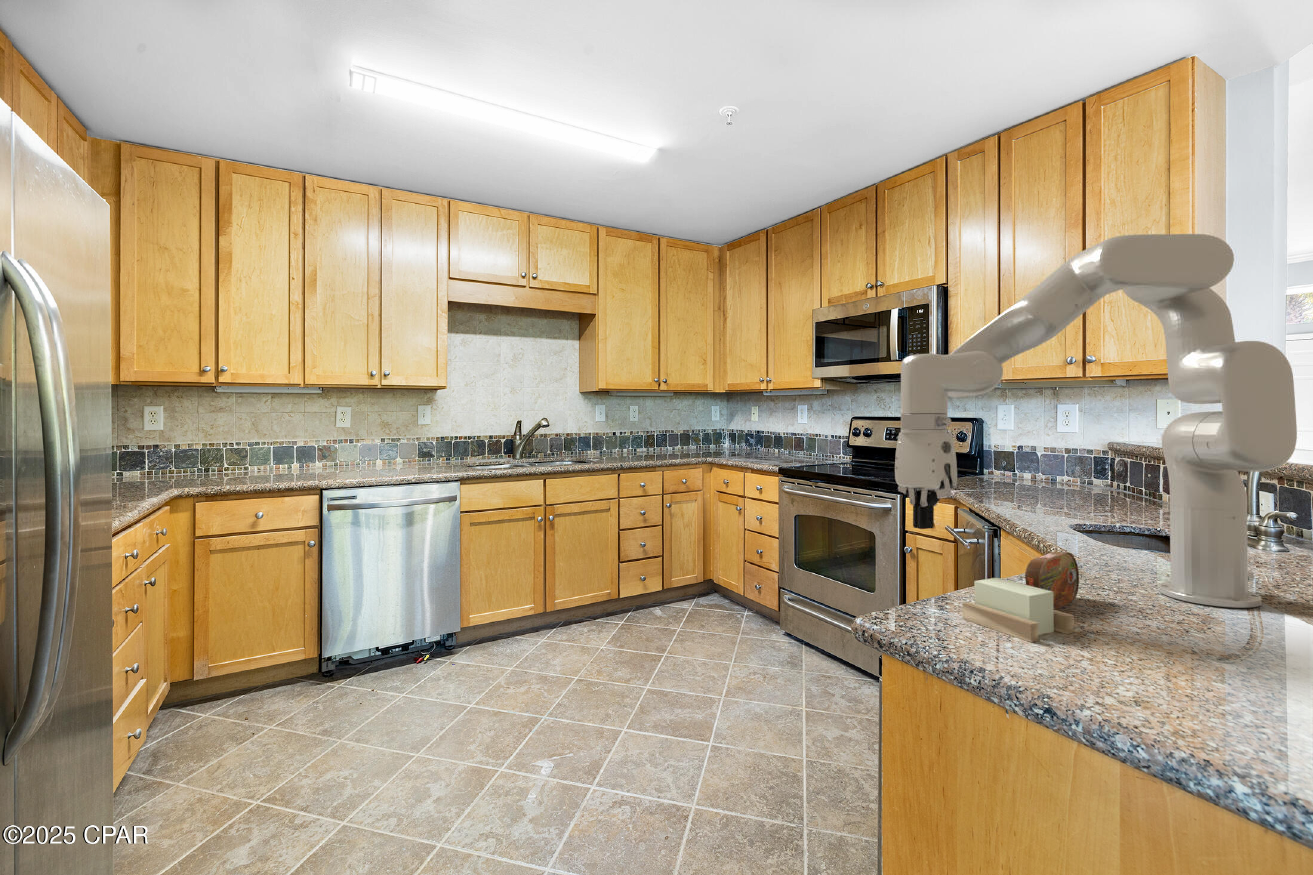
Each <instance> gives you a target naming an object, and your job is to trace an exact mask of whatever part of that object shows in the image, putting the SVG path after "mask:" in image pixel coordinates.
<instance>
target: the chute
mask: <svg viewBox="0 0 1313 875" xmlns="http://www.w3.org/2000/svg"><path fill="white" fill-rule="evenodd" d="M1053 612H1054V632H1055V631H1056V632H1059V633H1063V634H1066V635H1068V634H1072V633H1073V634H1074V633H1075V632H1074V631H1075V630H1074V615H1073V614H1070V613H1066V612H1062V611H1059V610H1057V609H1056V610H1053ZM962 620H964V621H968V622H971V623H973V624H977V625H978V626H983V627H985V628H989V629H991V630H994V631H996V632H999V633H1003V634H1006V635H1008V636H1012V637H1014V638H1017V639H1020V640H1023V641H1026V642H1030V643H1034V642H1038V641H1039V635H1038V623H1037V622H1034V621H1030V620H1027V619H1024V618H1020V617H1017V616H1014V615H1011V614H1007V613H1004V612H1001V611H998V610H994V609H991V608H988V607H985V606H981V605H978V604H975V602H972V601H967V602H962Z"/></svg>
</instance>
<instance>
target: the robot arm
mask: <svg viewBox="0 0 1313 875" xmlns="http://www.w3.org/2000/svg"><path fill="white" fill-rule="evenodd" d="M1234 263H1235V255H1234V252H1233V249H1232V247H1231V246H1230V245H1229V244H1228V243H1227V242H1226V241H1224V240H1223V239H1222V238H1220V237H1217V236H1215V235H1210V234H1204V233H1175V234H1173V233H1172V234H1171V233H1167V234H1165V233H1155V234H1154V233H1153V234H1152V233H1149V234H1147V233H1146V234H1144V233H1143V234H1123V235H1117V236H1114V237H1110V238H1107V239H1105V240H1103V241H1101V242H1099V243H1097V244H1095V245H1092V246H1090V247H1088V248H1086V249H1084V250H1082V251H1079V252H1078V253H1076V254H1074V255H1073V256H1072V257H1070V258H1068V260H1067V261H1065V262H1063V264H1061V265H1060V266H1059V267H1058V268H1056V269H1055V270H1054V271H1053V272H1051V274H1049V275H1048V276H1047V277H1046V278H1045V279H1044V280H1043V281H1041V282H1040V283H1039V284H1037V285H1036V286H1035V287H1034V288H1033V289H1032V290H1030V291H1029V292H1028V293H1026V294H1025V295H1024V296H1023V297H1022V298H1021V299H1019V300H1018V301H1016V302H1015V303H1014V304H1013V305H1012V306H1010V307H1008V308H1007V309H1005V311H1003V312H1002V313H1001V314H999V315H998V316H997V317H995V318H993V320H991V321H990V322H989V323H988V324H986V325H985V326H984V327H982V328H981V329H980V330H978V331H977V332H976V333H974V334H973V335H971V336H970V337H969V338H968V339H966V340H965V341H964V342H962V343H961V344H960V345H959V346H958V347H956V348H955V349H954V350H953V351H952V352H951V353H950V354H940V353H919V354H912V355H908V356H905V358H903V359H902V361H901V365H900V432H899V433H898V436H897V441H896V442H897V443H896V450H895V456H894V457H895V459H894V460H895V461H894V479H895V483H896V484H897V485H898V487H897V491H898V492H900V493H903V494H904V495H906V496H907V497H908V499H909V504H910V505H911V506H912V528H913V529H920V530H926V529H927V530H929V529H933V528H934V526H935V524H934V522H935V521H934V520H935V519H934V518H935V514H934V513H935V512H934V511H935V508H934V507H936V506H938V502H940V500H941V499H943V498H950V497H951V496H952V490H951V489H955V488H956V487H957V484H958V467H957V454H956V453H957V452H956V447H955V442H954V436H953V434H952V432H948V426H950V425H951V423H952V419H951V418H950V417H949V416H948V413H949V411H948V407H949V405H948V402H949V401H948V399H949V397H950V398H962V397H972V396H978V395H983V394H986V393H988V392H991V391H992V390H994V389H995V388H996V387H997V386H998V385H999V384H1000V383H1001V381H1002V378H1003V375H1004V367H1003V364H1004V363H1006V362H1008V361H1009V360H1011V359H1013V358H1015V357H1016V356H1018V355H1021V354H1022V353H1025V352H1027V351H1030V350H1032V349H1036V348H1037V347H1039V346H1041V345H1042V344H1044V343H1047V342H1048V341H1050V340H1052V339H1053V338H1055V337H1056V336H1058V335H1059V334H1060V333H1061V332H1062V331H1063V330H1065V329H1066V328H1067V327H1068V326H1069V325H1071V323H1073V322H1074V321H1076V319H1078V318H1079V317H1080V316H1081V315H1083V314H1085V312H1086V311H1088V310H1089V309H1090V308H1091V307H1093V306H1094V305H1095V304H1097V303H1098V302H1099V301H1100V300H1101V299H1103V298H1104V297H1106V296H1107V295H1110V294H1112V293H1116V292H1119V291H1122V292H1123V293H1124V294H1125V296H1126V297H1128V298H1129V299H1130V300H1132V301H1134V302H1135V303H1138V304H1140V305H1141V306H1143V307H1144V308H1147V309H1148V310H1149V311H1151V313H1153V314H1154V315H1155V316H1156V317H1157V319H1158V320H1159V322H1160V323H1161V325H1162V328H1163V329H1162V330H1163V334H1164V335H1163V336H1164V340H1165V355H1166V365H1167V378H1168V379H1167V380H1168V385H1169V386H1168V387H1169V391H1170V392H1171V394H1172V395H1173V397H1174V398H1176V399H1177V400H1179V401H1180V402H1183V403H1186V404H1193V405H1195V404H1199V405H1201V404H1202V405H1204V404H1205V405H1207V404H1208V405H1209V404H1221V409H1222V410H1221V411H1218V410H1217V411H1200V412H1199V411H1198V412H1191V413H1188V414H1185V415H1181V416H1179V417H1177V418H1175V419H1174V420H1172V421H1171V422H1169V424H1168V425H1167V426H1166V427H1165V429H1164V431H1163V433H1162V437H1161V448H1162V449H1161V450H1162V452H1163V457H1164V461H1165V464H1166V469H1167V474H1168V484H1169V539H1170V540H1169V542H1170V543H1169V546H1170V549H1169V550H1170V552H1169V553H1170V581H1164V582H1161V583H1159V588H1158V590H1159V592H1160V593H1162V594H1163V595H1165V596H1168V597H1169V598H1173V599H1176V600H1179V601H1183V602H1189V603H1192V604H1193V603H1194V604H1197V605H1198V604H1199V605H1204V606H1213V607H1220V608H1221V607H1222V608H1234V609H1235V608H1236V609H1239V608H1243V609H1246V608H1248V609H1249V608H1257V607H1259V606H1261V605H1262V604H1263V603H1262V600H1263V599H1262V596H1261V595H1259V594H1257V593H1255V592H1252V591H1249V582H1253V581H1254V580H1255V574H1254V573H1253V572H1251V571H1250V570H1248V568H1249V567H1248V566H1249V565H1248V564H1249V563H1248V562H1249V561H1248V557H1249V556H1248V554H1249V552H1248V495H1247V490H1246V486H1245V484H1244V481H1243V479H1242V477H1241V475H1240V474H1239V472H1250V473H1251V472H1257V473H1258V472H1267V471H1268V472H1269V471H1272V470H1273V471H1274V470H1275V469H1278V468H1280V467H1282V466H1283V465H1284V464H1286V463H1287V462H1289V460H1290V459H1291V458H1292V456H1293V454H1294V451H1295V449H1296V445H1297V438H1298V437H1297V436H1298V429H1297V428H1298V427H1297V426H1298V425H1297V413H1296V412H1297V409H1296V398H1295V383H1294V373H1293V368H1292V366H1291V362H1289V360H1288V358H1287V356H1286V355H1285V354H1284V353H1283V352H1282V350H1280V349H1279V348H1278V347H1276V346H1275V345H1272V344H1270V343H1268V342H1264V341H1260V340H1244V341H1236V337H1235V332H1234V324H1233V319H1232V314H1231V310H1230V308H1229V306H1228V305H1227V303H1226V302H1225V300H1224V299H1223V298H1222V297H1221V296H1220V295H1219V294H1218V292H1216V291H1214V289H1212V287H1215V286H1216V285H1218V284H1219V283H1220V282H1222V281H1224V279H1225V278H1227V276H1228V275H1229V274H1230V273H1231V270H1232V269H1233V267H1234Z"/></svg>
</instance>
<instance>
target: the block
mask: <svg viewBox="0 0 1313 875" xmlns="http://www.w3.org/2000/svg"><path fill="white" fill-rule="evenodd" d="M973 582H974V583H973V584H974V590H973V591H974V603H975V604H978V605H981V606H985V607H988V608H991V609H994V610H998V611H1001V612H1004V613H1007V614H1011V615H1014V616H1017V617H1020V618H1024V619H1027V620H1030V621H1034V622H1037V623H1038V636H1039V635H1040V636H1041V635H1044V634H1049V633H1054V632H1055V630H1054V612H1053V592H1052V591H1048V590H1044V589H1040V588H1037V587H1033V586H1029V585H1026V583H1025V584H1024V583H1020V582H1016V581H1014V580H1008V579H1005V578H1001V577H991V578H986V579H980V580H979V579H978V580H975V581H973Z"/></svg>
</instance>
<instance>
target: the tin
mask: <svg viewBox="0 0 1313 875" xmlns="http://www.w3.org/2000/svg"><path fill="white" fill-rule="evenodd" d="M1078 566H1079V565H1078V561H1077V560H1076V558H1075V556H1074V555H1073V554H1072V553H1071V552H1060V551H1052V552H1049V553H1047V554H1044V555H1040V556H1038V557H1036V558H1032V559H1031V560H1030V561H1029V562H1028V564H1027V565H1026V569H1025V572H1024V579H1025V585H1029V586H1033V587H1037V588H1040V589H1044V590H1048V591H1052V592H1053V610H1056V611H1057V610H1058V609H1060V608H1063V607H1065V606H1066V605H1068V604H1071V603H1072V602H1074V600H1076V597H1077V595H1078V591H1079V586H1080V573H1079V572H1080V571H1079V567H1078Z"/></svg>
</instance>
